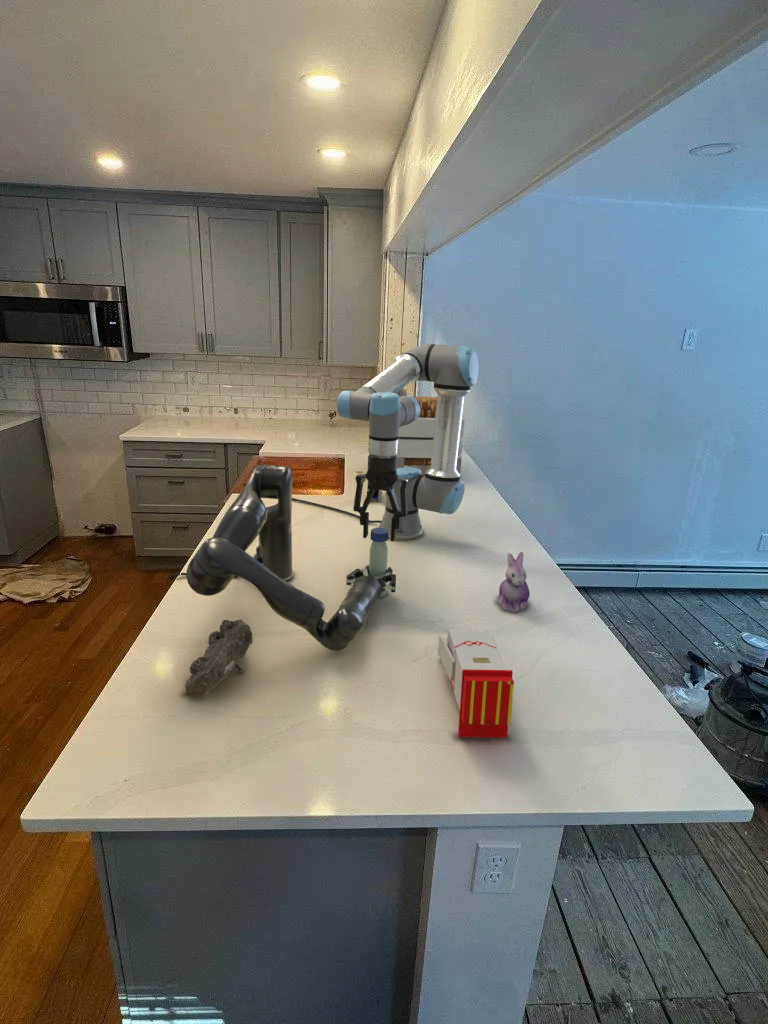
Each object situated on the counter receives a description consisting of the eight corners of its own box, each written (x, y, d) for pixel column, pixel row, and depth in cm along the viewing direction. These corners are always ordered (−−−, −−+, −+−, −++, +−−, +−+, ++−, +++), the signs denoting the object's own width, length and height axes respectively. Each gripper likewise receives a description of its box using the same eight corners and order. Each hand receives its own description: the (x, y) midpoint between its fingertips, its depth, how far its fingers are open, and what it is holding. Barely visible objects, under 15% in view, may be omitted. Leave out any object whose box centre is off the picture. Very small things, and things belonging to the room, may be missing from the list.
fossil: (205, 622, 132) (252, 592, 127) (234, 650, 134) (280, 621, 129) (164, 690, 112) (217, 657, 107) (198, 721, 115) (251, 691, 110)
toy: (488, 613, 130) (523, 677, 101) (484, 667, 133) (517, 744, 104) (435, 612, 130) (455, 676, 101) (432, 666, 133) (451, 743, 103)
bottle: (367, 588, 160) (370, 529, 154) (385, 588, 160) (388, 529, 154) (368, 596, 156) (370, 535, 149) (386, 597, 156) (389, 536, 150)
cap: (374, 543, 150) (374, 535, 149) (367, 536, 154) (368, 528, 153) (390, 541, 151) (391, 533, 151) (383, 534, 155) (384, 526, 155)
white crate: (382, 463, 289) (386, 382, 275) (445, 464, 293) (451, 384, 279) (390, 482, 257) (394, 392, 243) (460, 483, 261) (468, 394, 247)
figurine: (511, 616, 149) (518, 564, 143) (487, 598, 157) (493, 549, 152) (539, 609, 153) (547, 558, 148) (514, 592, 161) (521, 544, 156)
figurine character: (382, 506, 231) (382, 491, 244) (383, 489, 227) (382, 474, 241) (366, 505, 230) (366, 490, 244) (366, 488, 227) (367, 474, 240)
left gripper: (335, 604, 146) (355, 576, 161) (389, 614, 142) (404, 584, 158) (336, 578, 143) (356, 552, 159) (391, 587, 140) (406, 560, 155)
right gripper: (423, 454, 146) (417, 537, 154) (349, 448, 150) (347, 528, 158) (419, 461, 139) (413, 547, 147) (341, 454, 143) (339, 538, 151)
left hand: (380, 568), depth 158 cm, fingers closed on bottle, 5 cm apart
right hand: (379, 537), depth 152 cm, fingers open, 7 cm apart
